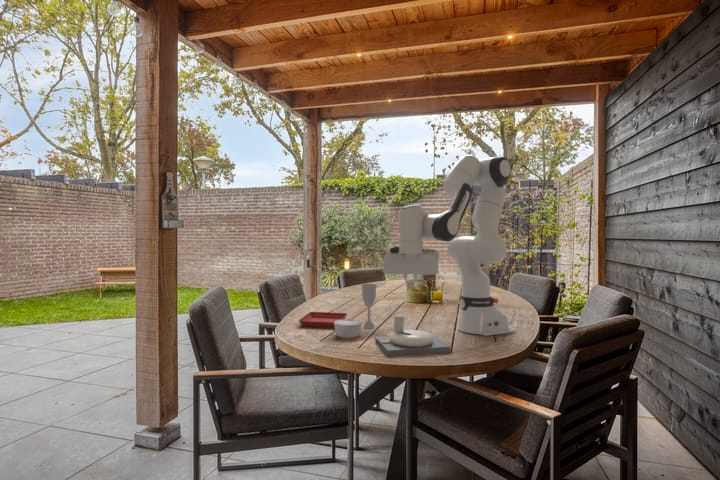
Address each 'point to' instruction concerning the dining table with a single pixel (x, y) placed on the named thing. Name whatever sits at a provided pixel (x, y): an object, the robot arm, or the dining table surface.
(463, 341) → the dining table surface
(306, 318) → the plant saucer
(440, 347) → the dial board
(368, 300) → the chalice
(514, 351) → the dining table surface
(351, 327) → the ramekin
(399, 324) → the dial
